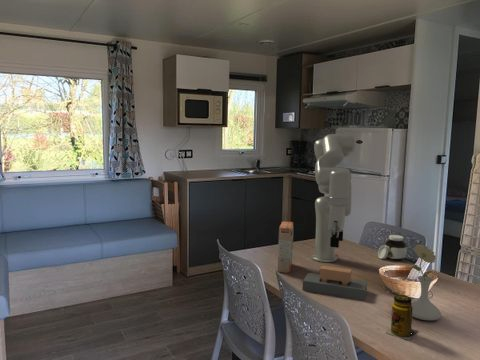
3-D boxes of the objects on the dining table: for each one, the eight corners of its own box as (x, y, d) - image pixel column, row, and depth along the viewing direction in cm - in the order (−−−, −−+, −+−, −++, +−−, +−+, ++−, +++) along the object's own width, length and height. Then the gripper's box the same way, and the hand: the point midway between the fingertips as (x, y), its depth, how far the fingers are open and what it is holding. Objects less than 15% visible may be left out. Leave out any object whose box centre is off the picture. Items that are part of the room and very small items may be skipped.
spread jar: (408, 260, 207) (409, 237, 206) (394, 264, 201) (395, 240, 199) (387, 254, 217) (389, 232, 216) (374, 257, 211) (375, 235, 209)
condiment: (386, 333, 132) (388, 297, 131) (395, 324, 138) (397, 289, 137) (409, 341, 127) (411, 304, 126) (418, 331, 134) (420, 295, 132)
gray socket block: (308, 281, 176) (308, 272, 175) (366, 290, 167) (367, 281, 166) (302, 290, 167) (302, 280, 166) (364, 300, 157) (364, 290, 157)
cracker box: (290, 273, 186) (291, 228, 183) (277, 272, 187) (278, 227, 184) (292, 263, 199) (294, 221, 197) (280, 262, 200) (281, 220, 198)
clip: (320, 286, 171) (321, 265, 170) (350, 291, 166) (351, 269, 165) (318, 289, 167) (319, 268, 166) (349, 294, 163) (350, 272, 161)
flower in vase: (448, 322, 140) (453, 251, 137) (417, 324, 138) (422, 252, 135) (425, 306, 153) (429, 240, 150) (396, 308, 151) (400, 241, 148)
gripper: (332, 197, 172) (331, 237, 174) (324, 204, 156) (322, 248, 158) (351, 198, 169) (349, 239, 171) (344, 206, 153) (342, 251, 155)
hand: (336, 243), depth 165 cm, fingers open, 9 cm apart
